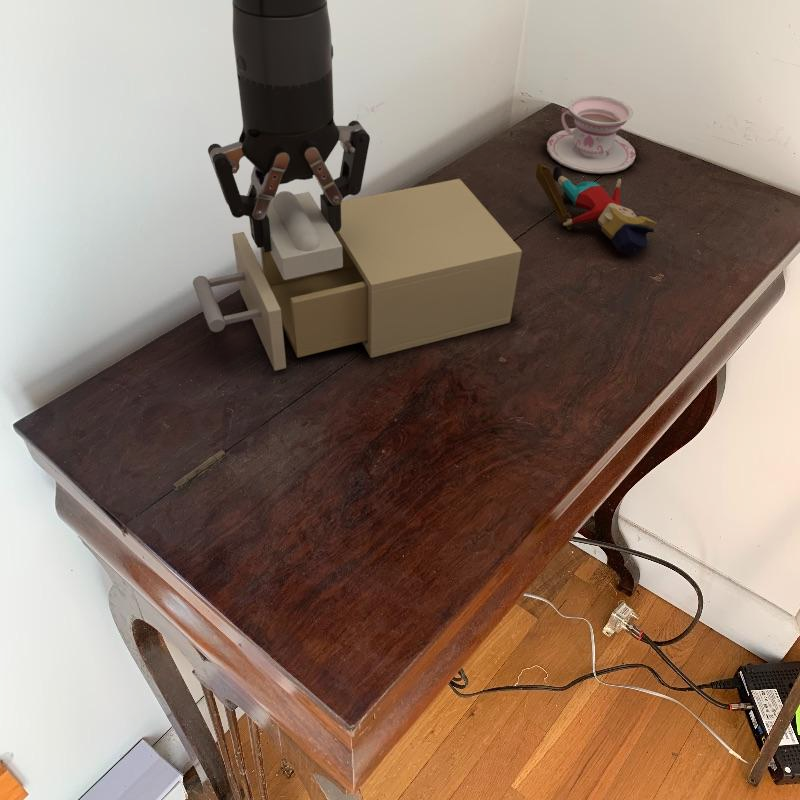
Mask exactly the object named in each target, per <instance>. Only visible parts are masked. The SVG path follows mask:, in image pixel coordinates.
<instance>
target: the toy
mask: <svg viewBox="0 0 800 800" xmlns="http://www.w3.org/2000/svg"><path fill="white" fill-rule="evenodd" d="M552 171H553V172H551V169H550V168H549V167H547V166H546V165H544V164H542V162H541V163H540V162H539V161H537V165H536V170H535V178H536V180H537V182H538V183H539V185H540V187H541V188H542V191H543V192H544V194H545V195H546V197H547V199H548V200H549V202H550V204H551V205H552V207H553V209H554V210H555V212H556V214H557V216H558V217H557V220H558V222H559V223H562V225H563V226H564V227H566V229H567V231H569V230H572V228H573V227H572V225H574V224H584V223H589V222H590V223H591V222H598V226H599V225H600V226H601V227H600V228H601V229H600V230H601V232H602V233H603V234H605V236H606V237H607V238H608V239H610V241H611V243H612V244H613V246H614V247H615V248H616V251H618V252H620V253H623V254H626V255H630V256H631V255H636V254H637V253H639V252H641V251H642V250H644V249H645V248H646V247H647V246H648V239H647V234H648V233H654V232H655V229H654V227H655V226H657V225H658V222H656V221H654V220H653V219H650V218H649V217H647V216H644V215H643V216H641V215H640V216H639V215H638V216H637V214H636V213H635V212H634V211H633V210H632V209H631V208H628V207H625V206H623V205H622V204H621V192H620V190H621V185H622V179H621V178H618V179H617V181H616V185H615V187H614V190H613V194H612V197H611V196H610V195H609V193H608V192H607V191H606V190H605V188H604V187H603V186H602V185H600V183H597V182H596V181H581V182H578V183H577V184H576V185H575V184H573V183H572V182H571V180H570V179H569V178H567V177H565V176H563V173H562V167H561V164H559V165H558V164H557V165H555V167H554V168H553V170H552ZM556 183H558V185H559V186H560V188H561V189H562V190H563V196H564V200H565V201H566V202H567V203H571V202H572V203H573V205H574V207H576V208H581V209H585V210H586V212H584V213H582V214H579V215H577V216H575V217H573V218H572V215H571V213H570V212H569V211H568V212H567V209H566V207H565V204H564V202H563V199H562V196H561V194H560V192H559V189H558V186H557V184H556Z"/></svg>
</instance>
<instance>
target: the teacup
mask: <svg viewBox="0 0 800 800" xmlns="http://www.w3.org/2000/svg"><path fill="white" fill-rule="evenodd" d="M567 108H568V109H566V107H564V108H561V109H560V112H561V117H560V118H561V119H560V120H561V125H562V127H563V129H562V130H560V131H557V132H555V133H554V134H552V135H551V136H550V137H549V139H548V140H547V141H546V151H547V153H548V154H549V156H550V157H551V158H552V159H553V160H554V161H555V162H557V163H559V165H562V166H564V167H566V168H569V169H571V170H574V171H577V172H582V173H586V174H587V173H588V174H598V175H599V174H600V175H603V174H613V173H617V172H621V171H624V170H626V169H627V168H629V167H631V166H632V165H633V163H634V162H635V160H636V157H637V155H636V150H635V148H634V146H633V145H631V143H630V141H628V140H626V139H625V138H623V137H622V136H620V135H618V134H617V133H618V132H619V131H620V130H621V128H622V126H624V125H625V124H626V123H627V122H628V121H629V120H630V119H631V118H633V116H634V111H633V108H632V107H630V105H628V104H627V103H625V102H623V101H620V100H618V99H615V98H612V97H607V96H602V95H583V96H578V97H574V98H572V99H571V100H570V101H569V102H568V103H567ZM566 115H569V116H570V117H572V118H573V123H574V126H575V127H574V128H573V127H572V128H570V127H569V126H568V125H567V122H566V118H565V116H566Z"/></svg>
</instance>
